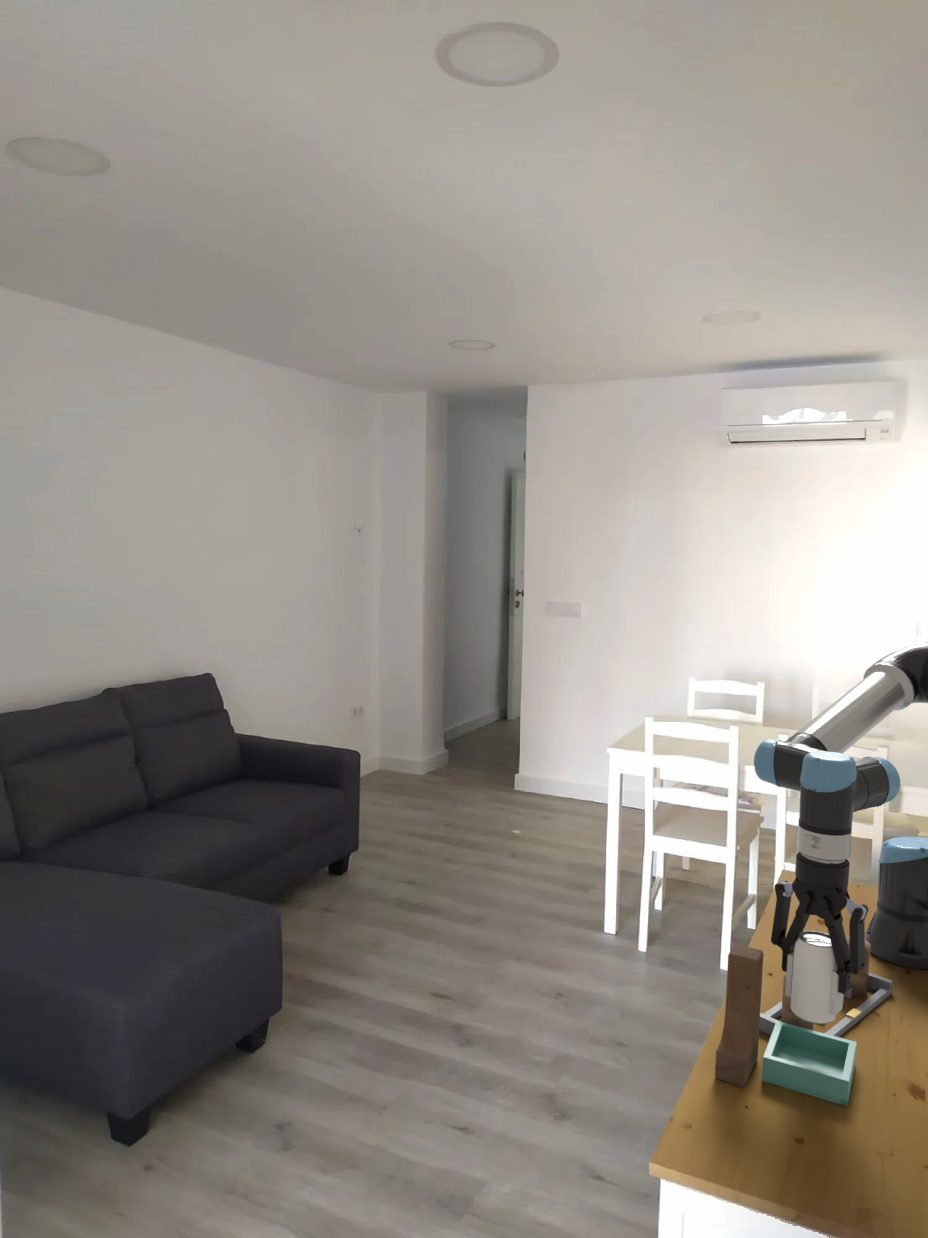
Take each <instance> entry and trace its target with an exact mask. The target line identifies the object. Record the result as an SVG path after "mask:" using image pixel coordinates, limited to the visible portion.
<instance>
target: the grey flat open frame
mask: <svg viewBox="0 0 928 1238" xmlns="http://www.w3.org/2000/svg"><path fill="white" fill-rule="evenodd" d="M893 982H894V980H891V979H889V978H886V977H884V976H880V975H878V974H875V973H872V972H871V971H870V972H868V983H867V989H871V990H873V991H876V992H875V993H874V994H872V995H871V996H870V997H868V998H867V999H866V1000H865V1001H864V1002H862V1003H861V1004H860V1005H858V1006H857V1007H855V1008H854V1007H853V1008H852V1009H850V1010H849V1011H848V1012H847V1013H846V1014H845V1017H843V1018H842V1019H841V1020H840V1021H839V1022H837V1023H836V1024H834V1025H833V1026H832V1027H831V1028H830V1029H829V1030H827V1031H826V1032H824V1033H825V1034H829V1035H832V1036H836V1037H840V1038H841V1036H842V1035H844V1034H845V1033H846V1032H847V1031H848V1030H850V1029H851V1028H852V1027H853V1026H855V1025H856V1024H857V1023H858V1022H859V1021H860V1020H862V1019H863V1018H864V1017H865V1016H866V1015H868V1014H869V1013H870V1012H872V1011H873V1010H874V1009H875V1008H876V1007H878V1005H879V1006H880V1004H881V1003H882V1002H883V1001H885V1000H886V999H888V998H889V997H890V996H891V995H892V994H893V986H894V983H893ZM852 997H853V996H852V987H850V989H849V991H848V992H847V993H846V994H843V1006H844V1005H845V998H847V999H849V1000H850V999H852ZM781 1013H782V1000H781V1001H780V1002H778V1003H776V1004H775V1005H774V1006H773V1007H771V1008H769V1009H768V1010H766V1012H764V1013H763V1012H760V1023H759V1032H763V1033H764V1034H767V1035H769V1036H771V1035H772V1032H773V1030H774V1027H775V1024H776V1021H780V1022H781V1020H778V1018H779V1017H781Z"/></svg>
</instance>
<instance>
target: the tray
mask: <svg viewBox="0 0 928 1238" xmlns="http://www.w3.org/2000/svg"><path fill="white" fill-rule="evenodd" d="M780 1021H781V1020H778V1021H776V1024H775V1027H774V1030H773V1032H772V1035H770V1038H769V1040H768V1043H767V1046H766V1048H765V1051H764V1054H763V1057H762V1069H761V1070H762V1071H761V1073H762V1074H761V1082H764V1083H768V1084H772V1085H774V1086H778V1087H780V1088H781V1087H782V1088H785V1089H788V1090H790V1091H791V1090H792V1091H794V1092H798V1093H801V1094H804V1095H809V1096H812V1097H815V1098H818V1099H822V1100H825V1101H828V1102H832V1103H834V1104H837V1105H841V1106H844V1107H848V1105H849V1101H850V1095H851V1089H852V1085H853V1084H852V1083H853V1077H854V1073H855V1068H856V1057H857V1056H856V1055H857V1043H858V1042H857V1041H854V1040H850V1039H847V1038H843V1037H841V1036H840V1037H836V1036H832V1035H829V1034H825V1033H826V1032H821V1031H820V1032H819V1031H817V1030H814V1029H813V1030H810V1029H806V1028H802V1027H799V1026H795V1025H791V1024H787V1023H783V1022H780Z"/></svg>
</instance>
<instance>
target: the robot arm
mask: <svg viewBox="0 0 928 1238" xmlns="http://www.w3.org/2000/svg"><path fill="white" fill-rule="evenodd" d="M862 678H863V679H862V680H860V682H858V683H857V684H856V685H854V686H853V687H852V688H851V689H850V690H848V691H847V692H846V693H844V694H843V695H842V696H840V697H839V698H838V699H837V700H835V701H834V702H833V703H832V704H830V705H829V706H828V707H826V709H824V710H823V711H822V712H821V713H819V714H818V715H817V716H816V717H814V718H813V719H811V720H810V721H809V722H808V723H807V724H806V725H804V726H803V727H802V728H800V729H799V730H797V732H795V733H794V734H793V735H791V736H790V737H789V738H787V739H786V740H784V741H783V740H782V739H778V738H777V739H774V738H773V739H771V738H768V739H764V740H763V741H762V742H760V744H759V745H758V746H757V749H756V750H755V753H754V756H753V766H754V771H755V774H756V776H757V777H758V779H759V780H761V781H763V782H766V783H769V784H772V785H774V786H776V787H779V788H784V789H788V790H793V791H796V792H799V811H798V812H799V815H798V816H799V818H798V827H797V828H798V829H797V842H796V849H797V851H798V852H797V853H796V856H795V857H796V858H795V872H794V875H795V878H794V880H793V882H789V881H788V880H786V879H785V880H784V879H783V880H781V881H779V882H778V883H776V884H775V885H774V893H775V896H776V902H775V908H774V914H773V915H774V916H773V923H772V929H771V938H770V942H771V944H772V945H774V946H778V947H779V948H780V949H781V951H782V953H781V954H782V955H781V956H782V958H781V970H782V971H783V972H784V973H786V974H785V975H786V991H785V995H786V996H788V997H791V992H792V976H793V962H794V948H795V943H796V941H797V939H798V938H799V937H798V934H799V933H800V932H803V931H805V927H806V925H807V923H808V920H809V918H810V916H816V917H818V918H820V919H822V920H823V922H824V925H825V928H827V931H828V935H829V936H830V940H831V944H832V948H833V952H834V956H835V960H836V964H837V968H838V969H837V970H834V971H832V984H831V999H830V1014H833V1015H835V1014H836V1015H837V1014H839V1012H841V1011H842V1010H843V1006H844V1005H843V994H846V993H847V992H848V991H849V989H850V980H851V973H853V974H858V973H859V972H860V971H862V970H863V969H864V968H865V940H866V941H867V942H869V943H870V945H871V949H870V954H872V955H874V956H875V957H877V958H878V959H881V960H882V961H885V962H889V963H891V964H893V965H897V966H901V967H906V968H910V969H920V970H928V837H920V836H919V837H918V836H899V837H893V838H889V839H887V840H885V841H884V842H883V843H882V845H881V848H880V853H879V859H878V863H879V865H878V879H877V880H878V881H877V896H876V897H877V898H876V909H875V912H874V914H873V916H872V918H871V920H870V922H869V925H868V927H867V930H866V931H865V920H866V918H867V914H868V912H869V907H868V905H866V904H863V903H862V904H861V905H860V904H858V903H857V902H855V901H854V900H852V899H851V897H850V894H849V892H848V891H849V890H848V888H849V887H848V886H849V877H850V865H851V864H850V861H849V860H848V859H849V858H850V857H851V852H852V851H851V850H852V849H851V848H852V832H853V831H852V830H853V818H854V813H857V812H858V811H864V810H867V809H872V808H876V807H877V808H878V807H881V806H883V805H884V804H887V803H889V802H891V801H893V800H894V799H895V798H896V797H897V796H898V794H899V791H900V790H901V789H900V788H901V785H902V784H901V778H900V774H899V771H898V770H897V768H896V766H894V764H893V763H892V762H890V761H889V760H887V759H885V758H883V757H882V756H881V757H880V756H865V757H862V758H860V757H854V756H850V755H847V754H845V752H847V751H848V750H849V749H850V748H852V747H853V746H854V745H855V744H856V743H858V741H860V739H862V738H863V737H864V736H865V735H867V734H868V733H869V732H871V730H873V729H874V728H875V727H876V726H878V725H879V724H880V723H881V722H882V721H883V720H884V719H886V718H887V717H888V716H889V715H890V714H891V713H893V712H894V711H902V710H905V709H906V708H908V707H909V706H910V705H911V704H917V703H918V704H919V703H921V704H922V703H923V704H928V641H926V642H925V641H924V642H919V643H915V644H912V645H909V646H905V647H903V648H900V649H898V650H896V651H894V652H891V653H889V654H887V655H885V656H884V657H882V658H880V659H879V660H878V661H875V662H874V663H873V664H872V665H871V666H869V667H868V668H867V669H866V670H865V672H864V673H863V677H862ZM792 895H795V897H796V899H797V900H798V903H799V904H798V905H797V908H796V910H795V916H794V917H793V920H792V921H791V925H790V927H789V929H788V924H789V915H790V910H791V902H792ZM844 909H847V916H848V917H849V930H848V931H849V936H850V953H849V949H848V945H847V941H846V937H847V936H846V934H845V930H844V926H843V925H844V924H843V921H844V918H843V914H842V911H843V910H844ZM787 929H788V930H787Z"/></svg>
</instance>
